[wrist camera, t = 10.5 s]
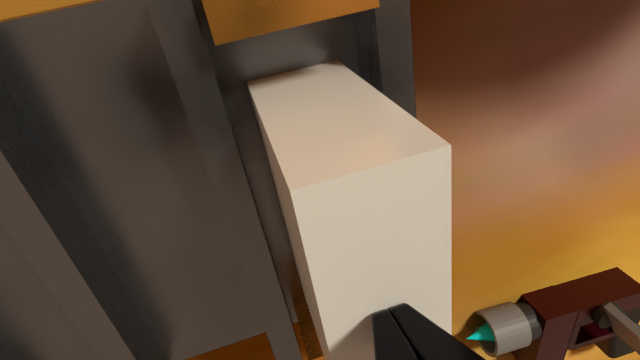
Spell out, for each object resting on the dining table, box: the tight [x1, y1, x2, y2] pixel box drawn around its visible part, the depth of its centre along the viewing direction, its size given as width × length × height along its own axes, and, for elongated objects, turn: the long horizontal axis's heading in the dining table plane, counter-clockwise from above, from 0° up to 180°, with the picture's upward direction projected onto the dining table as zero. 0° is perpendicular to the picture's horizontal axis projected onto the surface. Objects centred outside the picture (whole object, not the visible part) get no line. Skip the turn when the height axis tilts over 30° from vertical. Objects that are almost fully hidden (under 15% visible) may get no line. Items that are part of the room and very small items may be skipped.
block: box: [247, 60, 452, 360], centre depth 12 cm, size 8×3×7 cm, turn 10°
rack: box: [0, 0, 416, 360], centre depth 14 cm, size 14×18×4 cm
